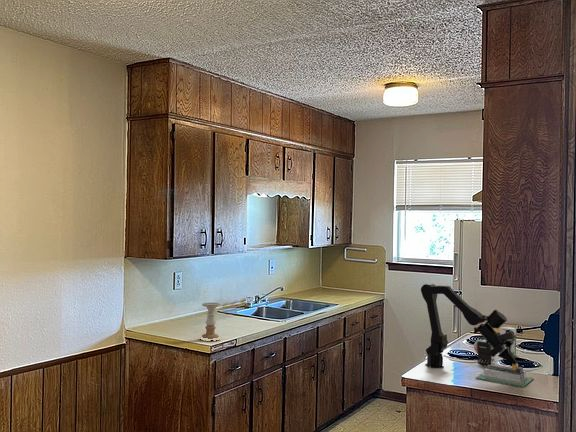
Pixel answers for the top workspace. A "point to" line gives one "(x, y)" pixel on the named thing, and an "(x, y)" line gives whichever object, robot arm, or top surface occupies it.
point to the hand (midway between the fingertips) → (515, 363)
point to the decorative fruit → (476, 345)
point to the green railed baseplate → (505, 376)
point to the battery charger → (484, 352)
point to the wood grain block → (514, 367)
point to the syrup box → (513, 348)
